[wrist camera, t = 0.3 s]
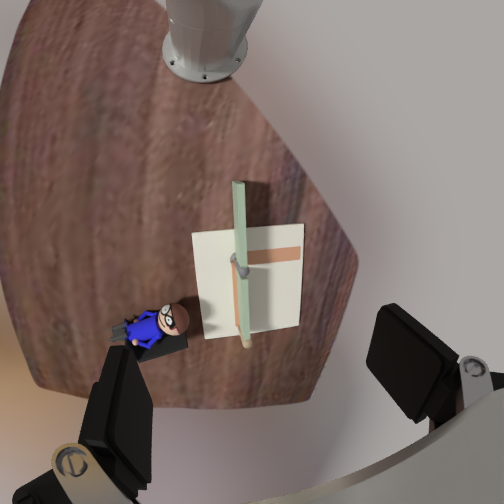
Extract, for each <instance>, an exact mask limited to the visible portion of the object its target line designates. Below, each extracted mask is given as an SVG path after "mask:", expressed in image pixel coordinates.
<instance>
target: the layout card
mask: <svg viewBox="0 0 504 504" xmlns="http://www.w3.org/2000/svg"><path fill="white" fill-rule="evenodd" d="M192 240H193V250H194V260H195V268H196V277H197V285H198V293H199V301H200V308H201V315H202V322H203V329H204V335H205V339H211V338H219V337H227V336H235V335H240V333H239V330H238V326H239V310H238V293H237V276H236V265H235V262H234V258H235V257H236V253H235V233H234V229H225V230H214V231H203V232H193V233H192ZM246 240H247V266H248V268H249V270H250V272H249V274H248V275H247V278H248V295H249V321H250V333H256V332H262V331H268V330H275V329H281V328H286V327H292V326H297V325H299V316H300V301H301V285H302V265H303V240H304V224H303V223H300V224H286V225H273V226H260V227H248V228H246Z"/></svg>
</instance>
